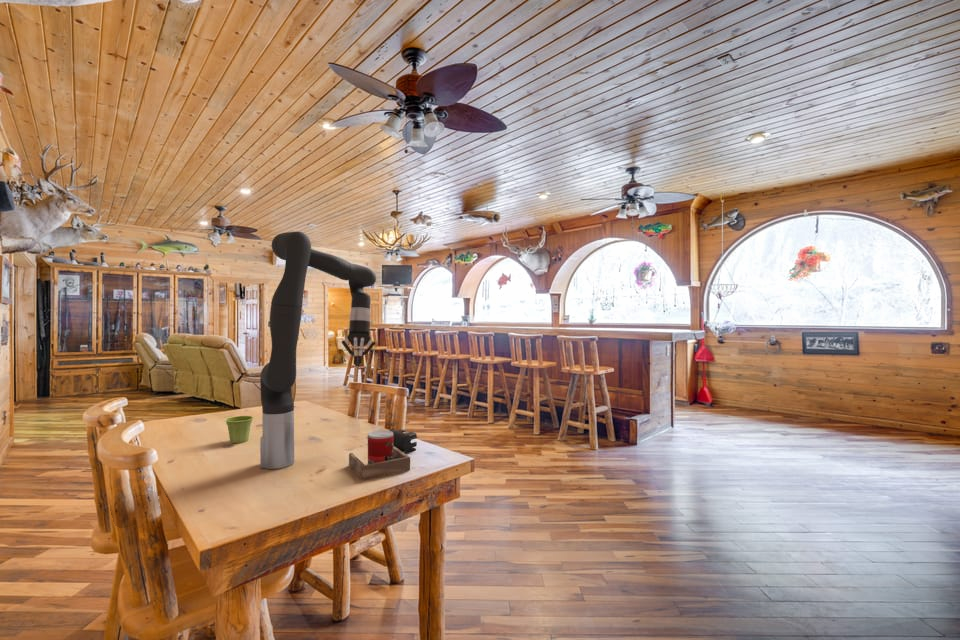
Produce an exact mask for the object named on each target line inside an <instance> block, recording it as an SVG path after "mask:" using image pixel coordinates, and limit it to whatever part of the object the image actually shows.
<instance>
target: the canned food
mask: <svg viewBox="0 0 960 640" xmlns="http://www.w3.org/2000/svg"><path fill="white" fill-rule="evenodd" d="M388 460H393V432H391V431H389V430H386V429H385V430H384V429H382V430H381V429H380V430H373V431H370V432H368V433H367V464H372V463H378V462H383V461H388Z"/></svg>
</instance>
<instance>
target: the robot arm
mask: <svg viewBox="0 0 960 640" xmlns="http://www.w3.org/2000/svg"><path fill="white" fill-rule="evenodd" d="M311 243H312V242H311V240H310V238H309V236H308V235H307V233H304V232H302V231H288V232H281V233H279V234H277V235H275V236H274V237H273V239H272V241H271V249H272V250H271V251H272V252H273V254H274V255H275V256H276V257H277V258H279V259H281V260H282V261H285V263H284V271H283V275H282V278H281V280H280V282H279V284H278V285H277V287H276V289H275V291H274V293H273V295H272V298H271V303H270V310H269V329H270V338H271V350H270V357H269V362H268V363H266V364H265V365H264V366H263V368H262V369H261V371H260V401H261V402H260V403H261V407H262V409H261V410H262V411H261V412H262V420H261V421H262V423H261V424H262V436H261V437H260V440H259V441H260V442H259V443H260V444H259V445H260V454H259V455H260V457H259V458H260V463H259V465H260V468H261V469H266V470H267V469H269V470H277V469H283V468H286V467H287V468H288V467H290V466H292V465H293V464H294V463H295V403H294V399H293V395H292V387H293V385H294V384H295V383H296V379H297V346H298V340H299V335H300V329H301V328H300V327H301V321H302V313H303V301H304V293H305V285H306V276H307V272H308V267H311V268H313V269H316V270H318V271H321V272H324V273H326V274H328V275H330V276H333V277H335V278H336V279H337V278H338V279H340V280H342V281H348V287H349V291H350V295H351V303H350V304H351V305H350V306H351V307H350V313H349V327H348V335H347V336H346V338H345V339H344V340H341V344H342V345H343V347H344V348H345V350H346V351H347V353H348V354H349V355H352V356H353V365H355V367H360V366H361V365H362V361H363V359H362V358H363V356H367V354H369V352H370V351H371V350H372V349H373V348H374V347H375V345H376V341H374V340H372V339H371V336H370V334H371V333H370V330H371V329H370V327H371V302H372V301H371V295H370V294H368V293H366V292H365V291H364V288H369V287H372V286H374V285H375V283H376V282H377V281H376V280H377V276H376V274H375V272H374V270H373V269H371V268H369V267H367V266H364V265H359V264H356V263H355V264H354V263H352V262H349V261H348V260H346V259H343V258H341V257H339V256H337V255H333V254H330V253H328V252H327V253H326V252H322V251H318V250H316V249H314V248H312V244H311ZM349 343H350V345H351V347H353V350H352V349H351V348H350V346H349ZM367 345H368V347H367V348H366V349H364V348H365V347H366V346H367ZM358 348H359V350H358Z"/></svg>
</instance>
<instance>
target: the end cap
mask: <svg viewBox="0 0 960 640" xmlns="http://www.w3.org/2000/svg"><path fill="white" fill-rule="evenodd" d="M388 431H391V432H393V446H395V447H396V448H398V449H399V450H400V451H402V452H403V453H405V454H409V453H412V452H414V451H416V450H417V449H416V448H415V447H417V446H418V445H417V444H418V443H417V441H414V442H412V441H413V440H416V439H417V437H418V435H417V433H416V432H415V431H414V432H413V431H409V432H406V430H404V429H397V430H395V429H389V430H388Z"/></svg>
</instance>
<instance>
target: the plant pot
mask: <svg viewBox="0 0 960 640" xmlns="http://www.w3.org/2000/svg"><path fill="white" fill-rule="evenodd" d="M253 419H254V416H252V415H236V416H230V417H227V418H225V419H224V422H226V426H227V431H228V436H229V437H228V438H229V442H230V443H232V444H234V443H237V444H241V442H242V443H245V442H247V441H249V438H250V432H251V426H252V425H251V424H252V422H253Z"/></svg>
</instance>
